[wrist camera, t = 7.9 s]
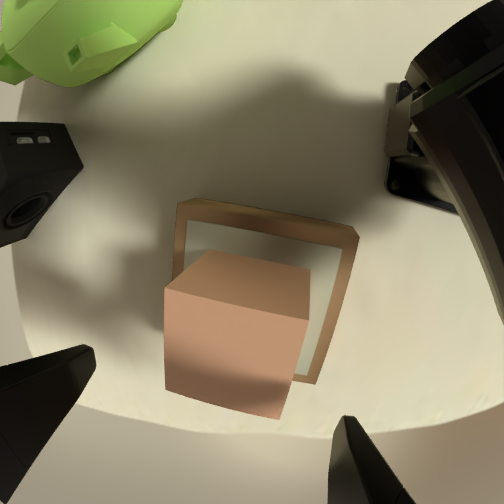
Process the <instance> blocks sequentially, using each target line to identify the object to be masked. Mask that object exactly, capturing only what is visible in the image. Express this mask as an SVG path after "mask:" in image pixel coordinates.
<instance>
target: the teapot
mask: <svg viewBox="0 0 504 504" xmlns="http://www.w3.org/2000/svg"><path fill="white" fill-rule="evenodd" d="M182 1H183V0H6V1H5V4H4V6H3V11H2V30H1V31H0V81H3V82H6V83H9V84H13V85H16V84H18V83H20V82H22V81H23V80H25V79H27V78H28V77H30V76H32V75H35V76H37V77H39V78H41V79H43V80H45V81H47V82H50V83H53V84H56V85H59V86H63V87H75V86H79V85H82V84H85V83H87V82H90V81H92V80H94V79H95V78H97V77H99V76H101V75H107V74H109V73H111V72H112V71H113V70H114V69H115V68H116V66H117V65H118V64H119V63H121V62H122V61H124V60H125V59H126V58H128V57H129V56H130V55H132V54H133V53H134V52H136V51H137V50H138V49H139V48H141V47H142V46H143V45H144V44H145V43H146V42H147V41H149V40H150V39H151V38H152V37H153V36H154V35H155V34H156V33H157V32H162V31H165V30H167V29H169V28H170V27H171V26H172V25H173V24H174V22H175V20H176V16H177V15H176V13H177V12H178V11H179V9H180V7H181V5H182Z"/></svg>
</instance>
